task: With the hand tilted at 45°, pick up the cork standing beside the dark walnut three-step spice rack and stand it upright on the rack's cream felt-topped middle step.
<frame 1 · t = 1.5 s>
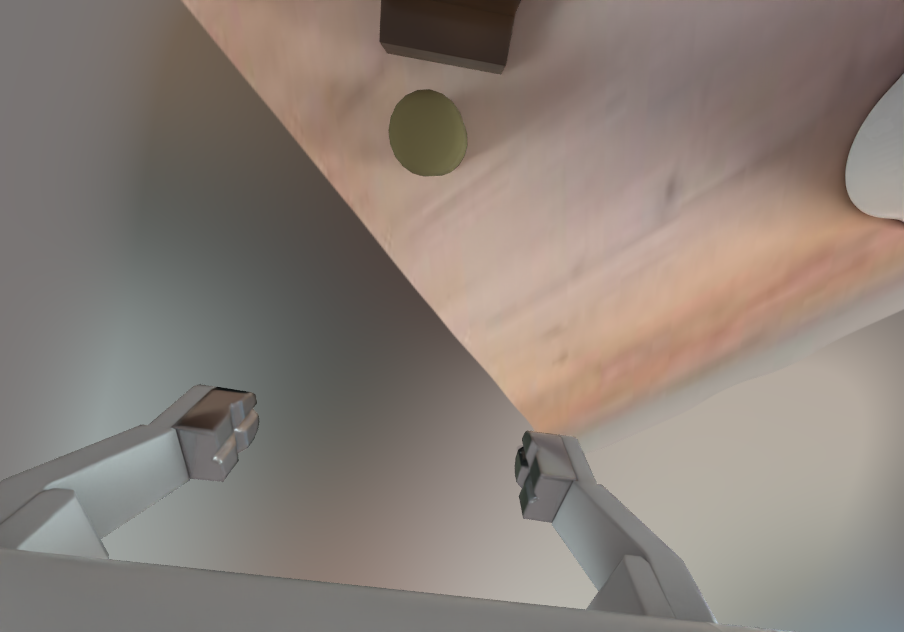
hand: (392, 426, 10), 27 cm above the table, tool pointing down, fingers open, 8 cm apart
cork: (435, 141, 31), on the table
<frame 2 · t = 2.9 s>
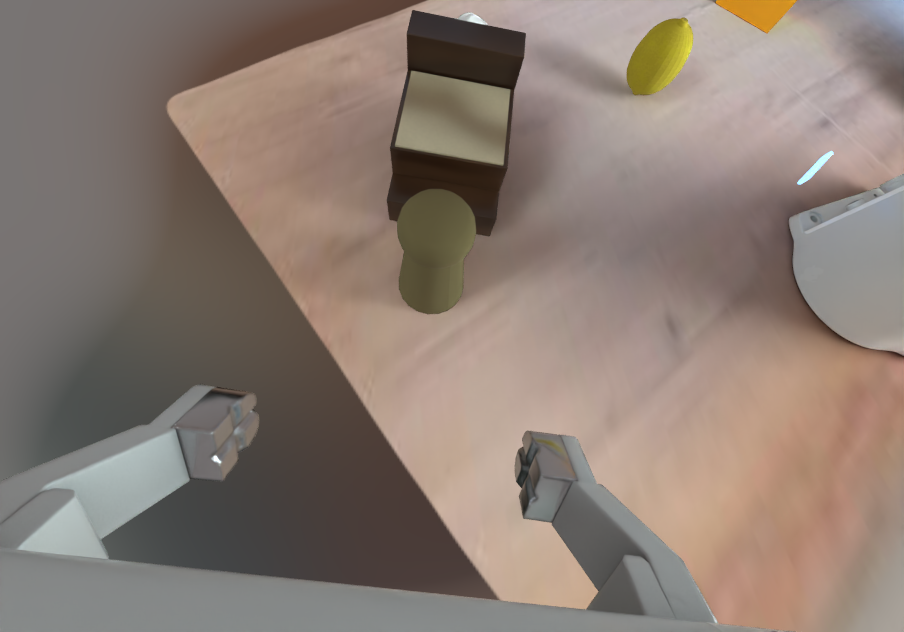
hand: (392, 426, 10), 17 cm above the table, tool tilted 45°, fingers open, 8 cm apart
spice rack: (449, 167, 34), on the table
orange juice: (748, 7, 48), on the table
lemon: (633, 95, 40), on the table
cork: (431, 284, 30), on the table
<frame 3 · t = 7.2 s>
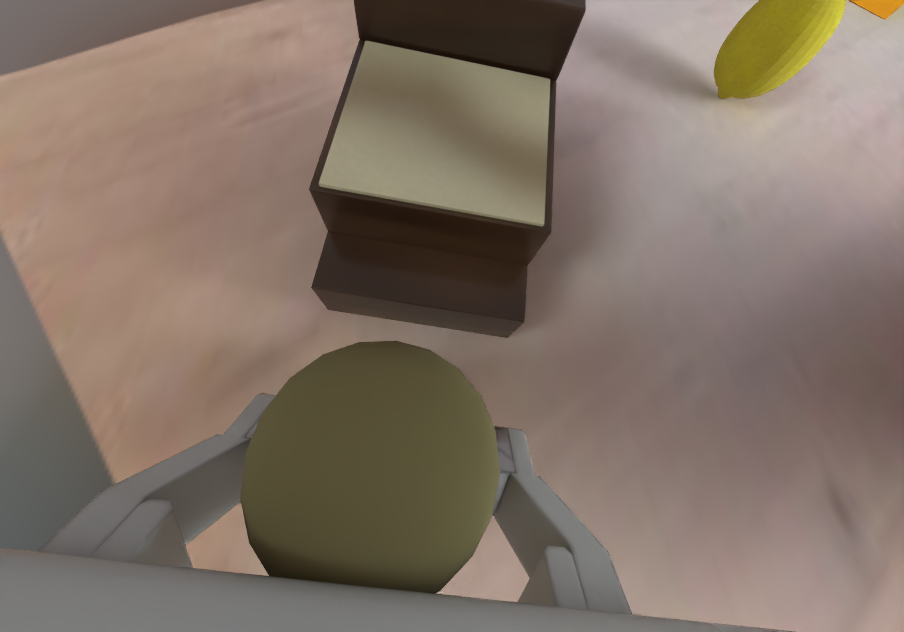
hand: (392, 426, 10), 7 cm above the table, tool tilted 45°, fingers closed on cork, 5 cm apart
spice rack: (438, 211, 20), on the table
lemon: (718, 99, 27), on the table
cork: (399, 438, 16), on the table, touching gripper
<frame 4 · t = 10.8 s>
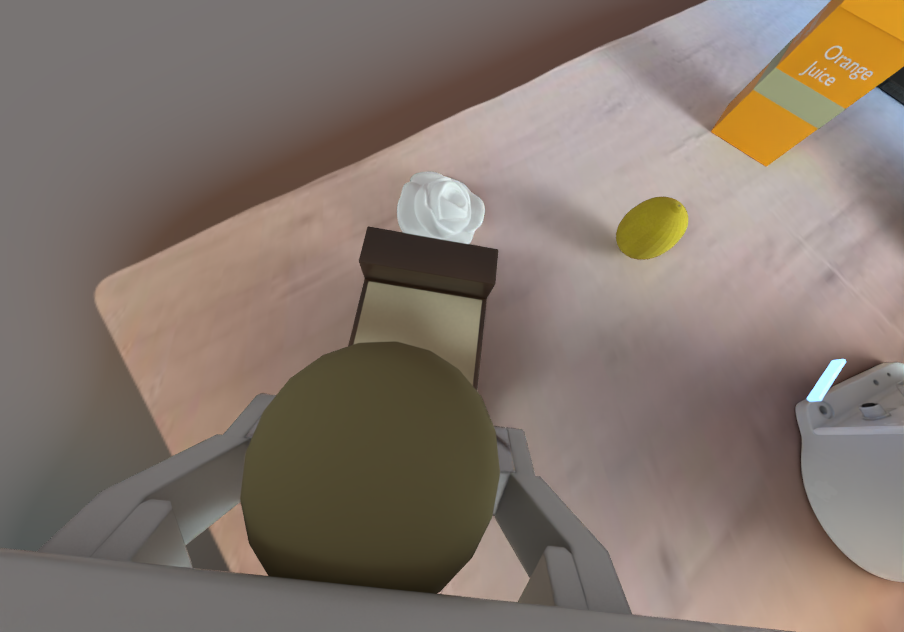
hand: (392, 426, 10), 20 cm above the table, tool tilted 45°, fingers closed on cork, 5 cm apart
spice rack: (416, 357, 30), on the table
rose: (439, 218, 36), on the table
orange juice: (745, 135, 46), on the table
lemon: (624, 250, 37), on the table
cork: (399, 438, 16), point 13 cm above the table, touching gripper
when the fingers open (13 cm above the table, at t = 14.3 s): cork stays where it is, resting on spice rack.
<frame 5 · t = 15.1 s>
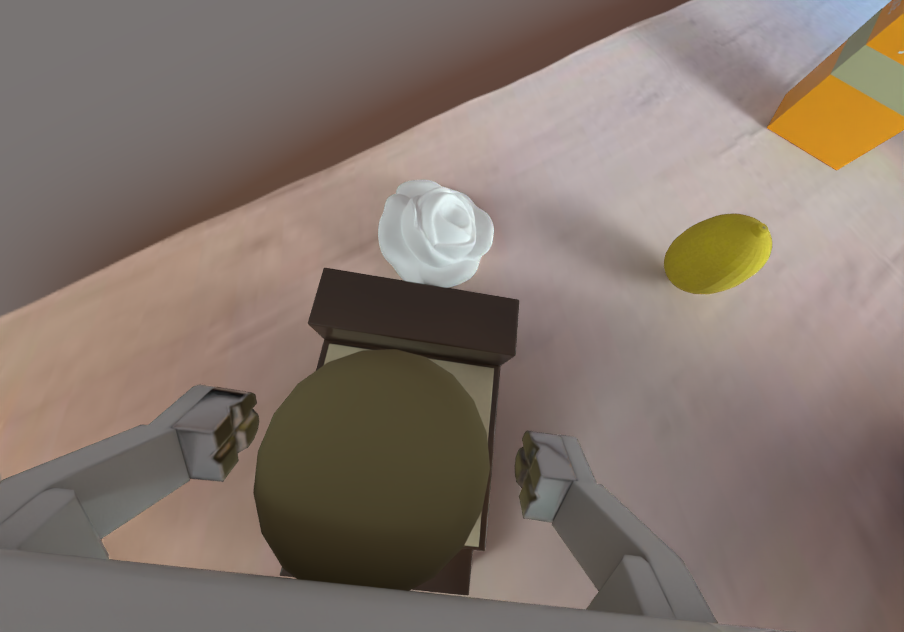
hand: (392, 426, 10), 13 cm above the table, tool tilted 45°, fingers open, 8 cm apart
spice rack: (403, 434, 22), on the table
rose: (435, 240, 28), on the table
orange juice: (808, 132, 38), on the table
lemon: (671, 279, 29), on the table
cork: (399, 439, 17), point 6 cm above the table, touching spice rack
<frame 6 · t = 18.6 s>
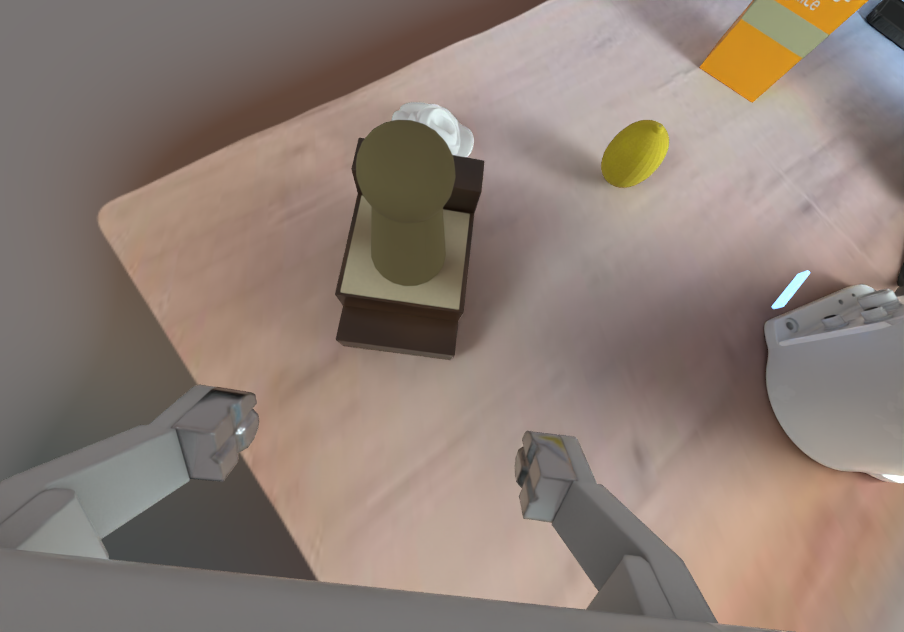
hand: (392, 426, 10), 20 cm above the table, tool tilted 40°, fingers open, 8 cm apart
spice rack: (409, 278, 32), on the table
rose: (430, 150, 36), on the table
orange juice: (733, 71, 46), on the table
lemon: (609, 182, 38), on the table
cork: (408, 252, 26), point 6 cm above the table, touching spice rack
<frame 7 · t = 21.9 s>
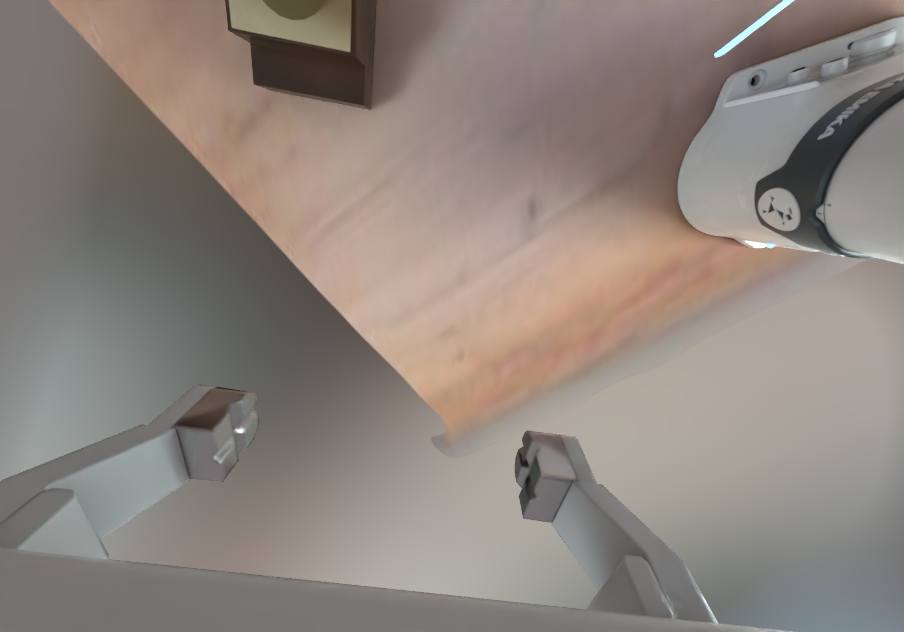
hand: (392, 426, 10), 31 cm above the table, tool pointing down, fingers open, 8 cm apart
spice rack: (320, 2, 29), on the table
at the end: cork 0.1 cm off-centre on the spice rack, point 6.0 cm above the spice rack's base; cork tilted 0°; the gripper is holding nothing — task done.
